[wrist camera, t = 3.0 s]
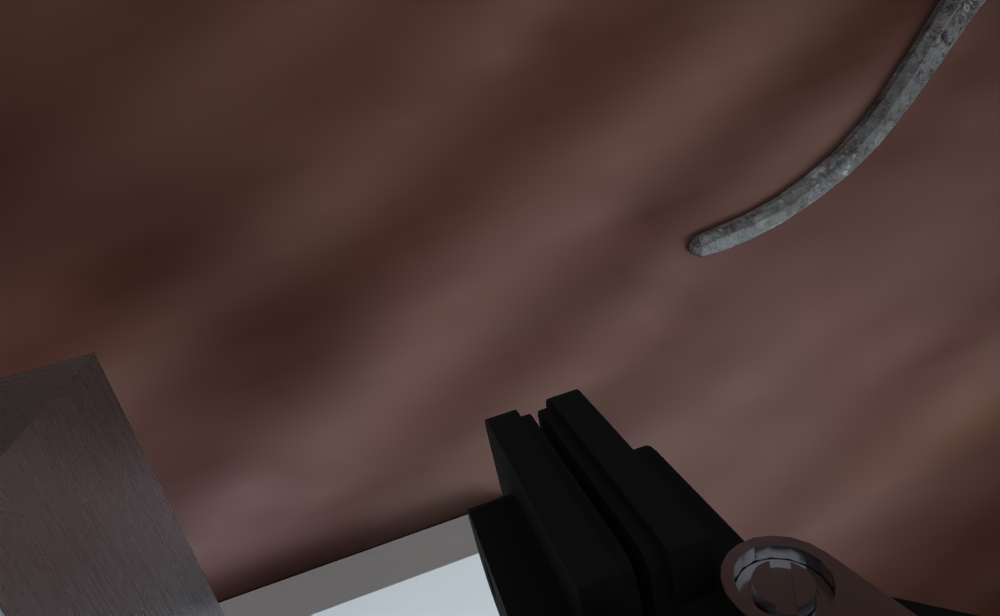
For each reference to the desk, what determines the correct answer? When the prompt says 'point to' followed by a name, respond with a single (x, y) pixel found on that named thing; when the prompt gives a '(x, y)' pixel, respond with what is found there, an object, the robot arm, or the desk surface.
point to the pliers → (854, 131)
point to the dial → (85, 506)
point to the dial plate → (385, 581)
